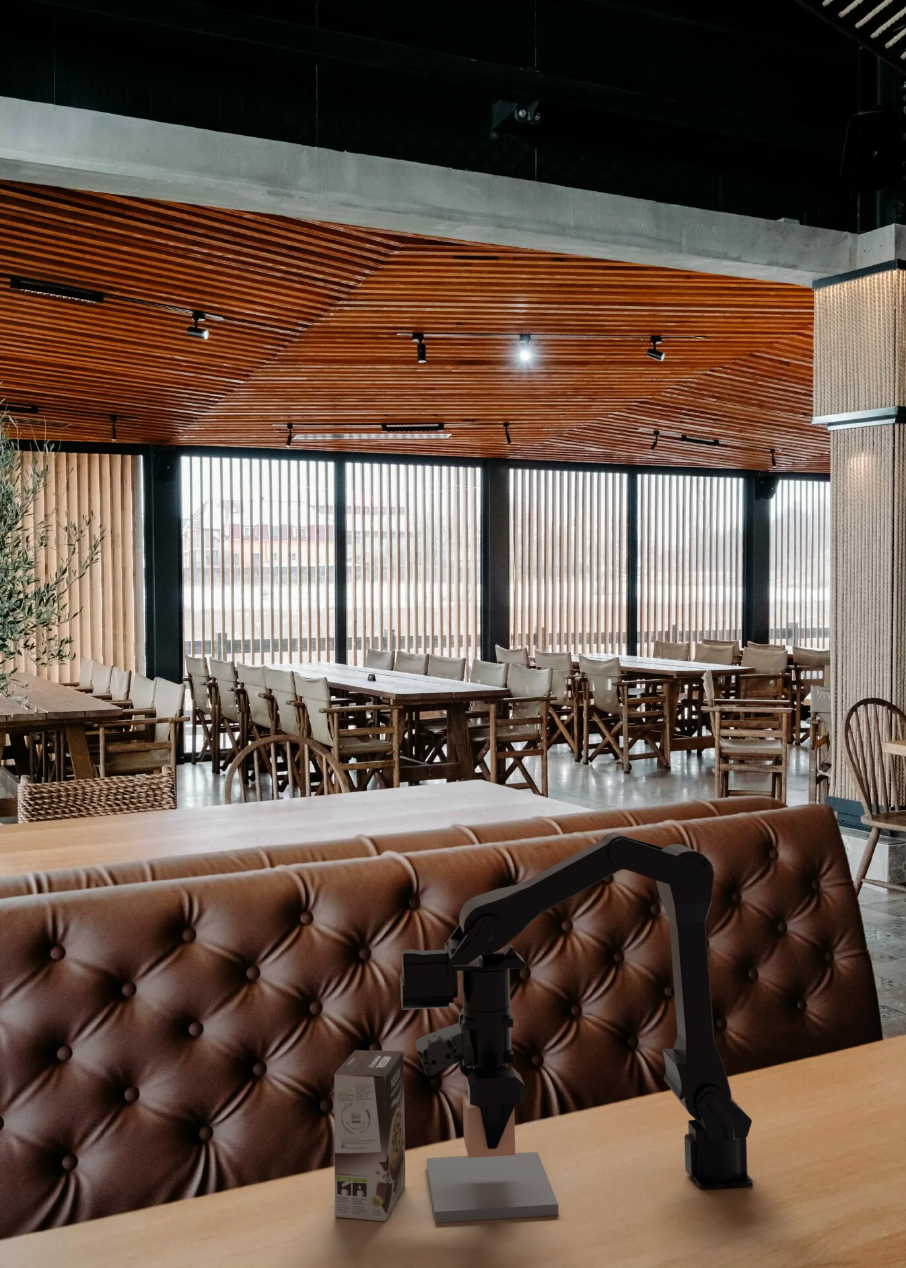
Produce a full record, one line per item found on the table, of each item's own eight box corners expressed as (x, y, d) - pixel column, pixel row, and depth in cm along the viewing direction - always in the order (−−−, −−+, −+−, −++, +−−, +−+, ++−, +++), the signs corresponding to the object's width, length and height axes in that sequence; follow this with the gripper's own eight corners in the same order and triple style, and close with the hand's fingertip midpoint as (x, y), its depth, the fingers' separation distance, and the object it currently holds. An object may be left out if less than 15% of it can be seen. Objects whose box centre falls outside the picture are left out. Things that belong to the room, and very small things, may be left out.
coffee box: (388, 1222, 122) (386, 1076, 123) (333, 1218, 124) (331, 1073, 124) (407, 1186, 131) (405, 1049, 132) (356, 1182, 132) (354, 1047, 133)
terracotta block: (508, 1135, 133) (507, 1090, 133) (515, 1155, 127) (514, 1107, 128) (463, 1138, 132) (462, 1092, 133) (468, 1157, 127) (467, 1109, 127)
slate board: (537, 1161, 137) (537, 1151, 137) (558, 1215, 123) (558, 1204, 123) (426, 1168, 136) (426, 1158, 136) (435, 1222, 122) (434, 1211, 122)
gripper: (415, 987, 139) (417, 1111, 138) (424, 1033, 121) (427, 1177, 120) (501, 983, 140) (504, 1106, 139) (523, 1028, 122) (527, 1171, 121)
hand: (489, 1138), depth 130 cm, fingers closed on terracotta block, 5 cm apart
